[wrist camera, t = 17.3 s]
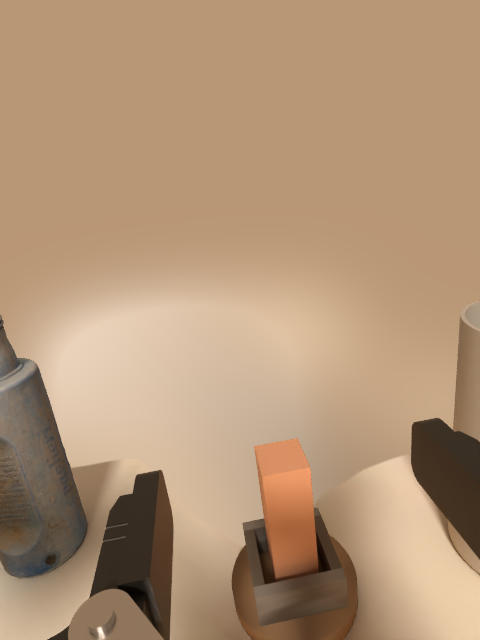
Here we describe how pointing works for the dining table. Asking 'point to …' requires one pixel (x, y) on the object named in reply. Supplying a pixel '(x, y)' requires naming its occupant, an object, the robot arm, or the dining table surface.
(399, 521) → the dining table surface
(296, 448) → the post
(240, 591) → the block holder stand
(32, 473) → the bottle
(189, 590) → the dining table surface
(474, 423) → the cylinder vase
